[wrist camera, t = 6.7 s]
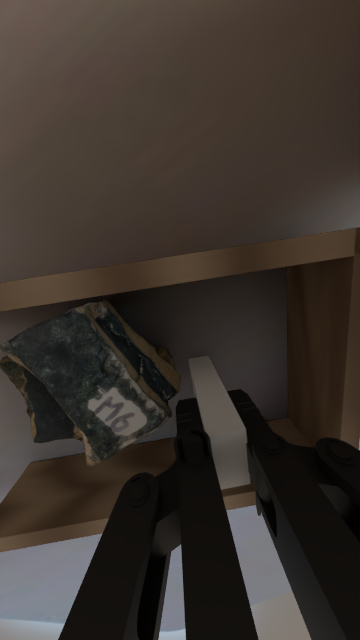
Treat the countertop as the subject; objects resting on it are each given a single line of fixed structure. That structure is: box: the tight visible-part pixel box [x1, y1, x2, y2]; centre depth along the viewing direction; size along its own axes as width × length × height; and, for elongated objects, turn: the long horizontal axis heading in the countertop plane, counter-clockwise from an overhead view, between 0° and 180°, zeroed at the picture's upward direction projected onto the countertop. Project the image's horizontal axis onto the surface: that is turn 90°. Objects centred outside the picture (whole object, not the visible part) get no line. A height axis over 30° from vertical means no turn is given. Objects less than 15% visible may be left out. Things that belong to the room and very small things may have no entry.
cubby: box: [0, 227, 360, 552], centre depth 12 cm, size 24×16×5 cm, turn 99°
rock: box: [0, 299, 181, 467], centre depth 11 cm, size 9×9×6 cm
